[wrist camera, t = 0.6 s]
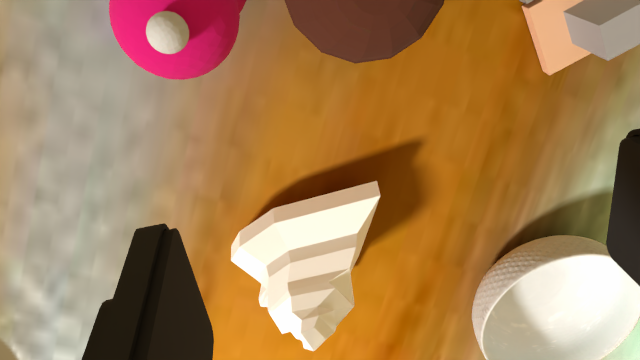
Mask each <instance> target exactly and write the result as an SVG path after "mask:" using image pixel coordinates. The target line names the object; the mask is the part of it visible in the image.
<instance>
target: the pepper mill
mask: <svg viewBox="0 0 640 360" xmlns="http://www.w3.org/2000/svg"><path fill="white" fill-rule="evenodd" d="M245 2H246V0H110V2H109V13H110V21H111V26H112V29H113V32H114V35H115V37H116V39H117V41H118V43H119V45H120V46H121V48H122V49H123V50H124V52H125V53H126V54H127V55H128V56H129V57H130V58H131V59H132V60H133V61H134V62H135V63H136V64H137V65H138V66H140V67H142V68H143V69H145V70H146V71H148V72H151V73H153V74H155V75H157V76H161V77H164V78H167V79H190V78H195V77H199V76H201V75H204V74H206V73H208V72H210V71H211V70H213V69H214V68H216V67H217V66H218V65H219V64H220V63H221V62H222V61H223V60H224V59H225V58H226V57H227V56H228V54H229V53H230V51H231V49H232V47H233V45H234V43H235V40H236V37H237V34H238V28H239V18H240V15H239V13H240V12H241V10H242V9H243V6H244V4H245Z"/></svg>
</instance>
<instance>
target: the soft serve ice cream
mask: <svg viewBox="0 0 640 360" xmlns="http://www.w3.org/2000/svg"><path fill="white" fill-rule="evenodd" d="M380 196H381V195H380V191H379V187H378V183H377V181H374V182H370V183H366V184H363V185H359V186H355V187H351V188H348V189H344V190H340V191H336V192H332V193H329V194H325V195H321V196H317V197H314V198H310V199H306V200H302V201H298V202H295V203H291V204H287V205H283V206H280V207H276V208H273V209H271V210H270V211H268V212H267V213H266V214H264V215H263V216H261V217H260V218H258V219H257V220H255V221H254V222H252V223H251V224H250V225H248V226H247V227H245V228H244V229H242V230H241V231H239V233H238V235H237V237H236V239H235V240H234V242H233V244H232V246H231V261H232V262H234V263H235V264H236V265H238V266H239V267H240V268H242V269H243V270H244V271H246V272H247V273H248V274H250V275H251V276H252V277H254V278H255V279H256V280H258V281H259V282H260V283H261V289H260V294H259V303H260V306H262V307H268V312H269V314H270V315H271V317H272V318H273V320H274V322H275V323H276V325H277V326H278V328H279V330H280V331H281V333H282V334H283V333H287V332H291V333H292V334H293V335H294V337H295V338H296V339H300V340H301V341H302V342H303V346H304V348H305V349H308V350H312V351H315V350H316V349H317V348H318V347H320V345H321V344H322V343H323V342H324V341H325V340H326V339H327V338H328V337H329V336H331V335H332V334H333V333H334V332H335V330H336V326H337V325H338V324H339V323H340V322H341V321H342V319H343V318H344V317H345V316H346V315H347V314H348V313H349V312H350V310H351V309H352V308H353V307H354V297H353V290H352V282H351V275H350V272H351V270H352V268H353V266H354V264H355V262H356V260H357V259H358V257H359V254H360V251H361V249H362V246H363V243H364V240H365V238H366V235H367V232H368V229H369V226H370V224H371V221H372V218H373V215H374V213H375V210H376V207H377V204H378V201H379V199H380Z"/></svg>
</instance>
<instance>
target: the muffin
mask: <svg viewBox="0 0 640 360" xmlns="http://www.w3.org/2000/svg"><path fill="white" fill-rule="evenodd" d="M285 2H286V5H287V8H288V10H289V13H290V15H291V18H292V21H293V23H294V26H295V27H296V28H297V29H298V30H299V31H300V32H301V33H302V34H303V35H305V36H306V37H307V38H308V39H309V40H310V41H311V42H312V43H313V44H314V45H315V46H316V47H317V48H318V49H319V50H320V51H321V52H323V53H326V54H329V55H332V56H335V57H338V58H341V59H344V60H347V61H350V62H353V63H361V62H368V61H375V60H382V59H389V58H392V57H393V56H395V55H396V54H398V53H399V52H401V51H402V50H404V49H405V48H407V47H408V46H410V45H411V44H413V43H414V42H416V41H417V40H419V39H420V38H422V36H423V35H424V33H425V32H426V30H427V29H428V27H429V25H430V24H431V22H432V21H433V19H434V18H435V16H436V15H437V13H438V12H439V10H440V9H441V7H442V6H443V3H444V0H285Z"/></svg>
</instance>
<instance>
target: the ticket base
mask: <svg viewBox="0 0 640 360" xmlns="http://www.w3.org/2000/svg"><path fill="white" fill-rule="evenodd" d="M520 1H521V2H523V3H526V4H528V3H530V2H531V1H533V0H520Z"/></svg>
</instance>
